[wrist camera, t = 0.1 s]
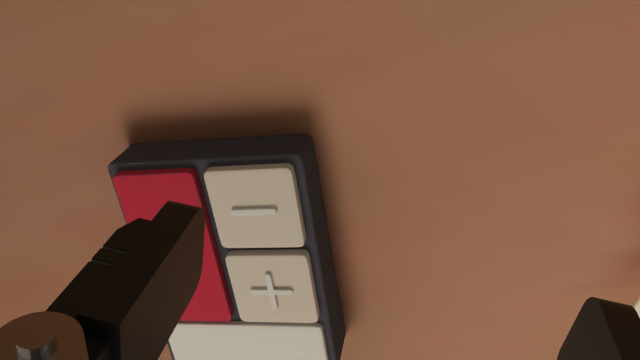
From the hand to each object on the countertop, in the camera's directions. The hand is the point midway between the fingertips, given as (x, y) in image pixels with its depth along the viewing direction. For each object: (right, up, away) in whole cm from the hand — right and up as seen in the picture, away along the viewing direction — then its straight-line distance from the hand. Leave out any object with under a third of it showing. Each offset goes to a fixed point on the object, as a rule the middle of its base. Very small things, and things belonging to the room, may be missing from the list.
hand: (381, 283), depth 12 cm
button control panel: (-6, -2, +23) cm, 24 cm away
